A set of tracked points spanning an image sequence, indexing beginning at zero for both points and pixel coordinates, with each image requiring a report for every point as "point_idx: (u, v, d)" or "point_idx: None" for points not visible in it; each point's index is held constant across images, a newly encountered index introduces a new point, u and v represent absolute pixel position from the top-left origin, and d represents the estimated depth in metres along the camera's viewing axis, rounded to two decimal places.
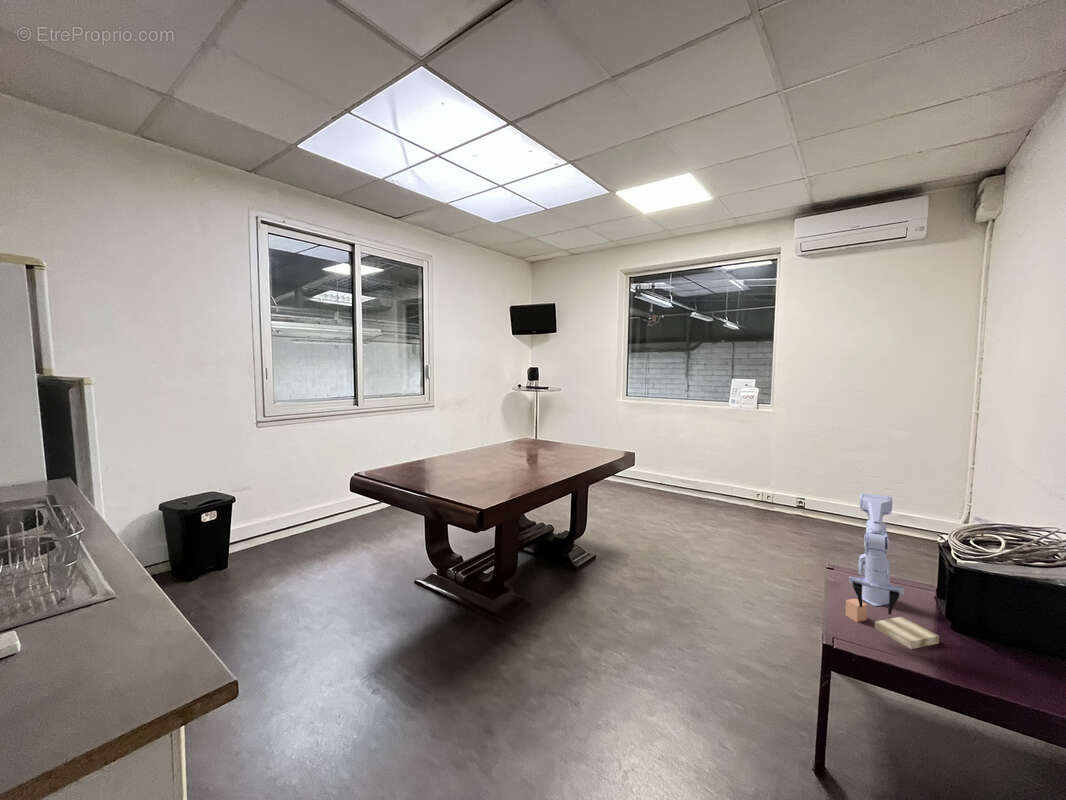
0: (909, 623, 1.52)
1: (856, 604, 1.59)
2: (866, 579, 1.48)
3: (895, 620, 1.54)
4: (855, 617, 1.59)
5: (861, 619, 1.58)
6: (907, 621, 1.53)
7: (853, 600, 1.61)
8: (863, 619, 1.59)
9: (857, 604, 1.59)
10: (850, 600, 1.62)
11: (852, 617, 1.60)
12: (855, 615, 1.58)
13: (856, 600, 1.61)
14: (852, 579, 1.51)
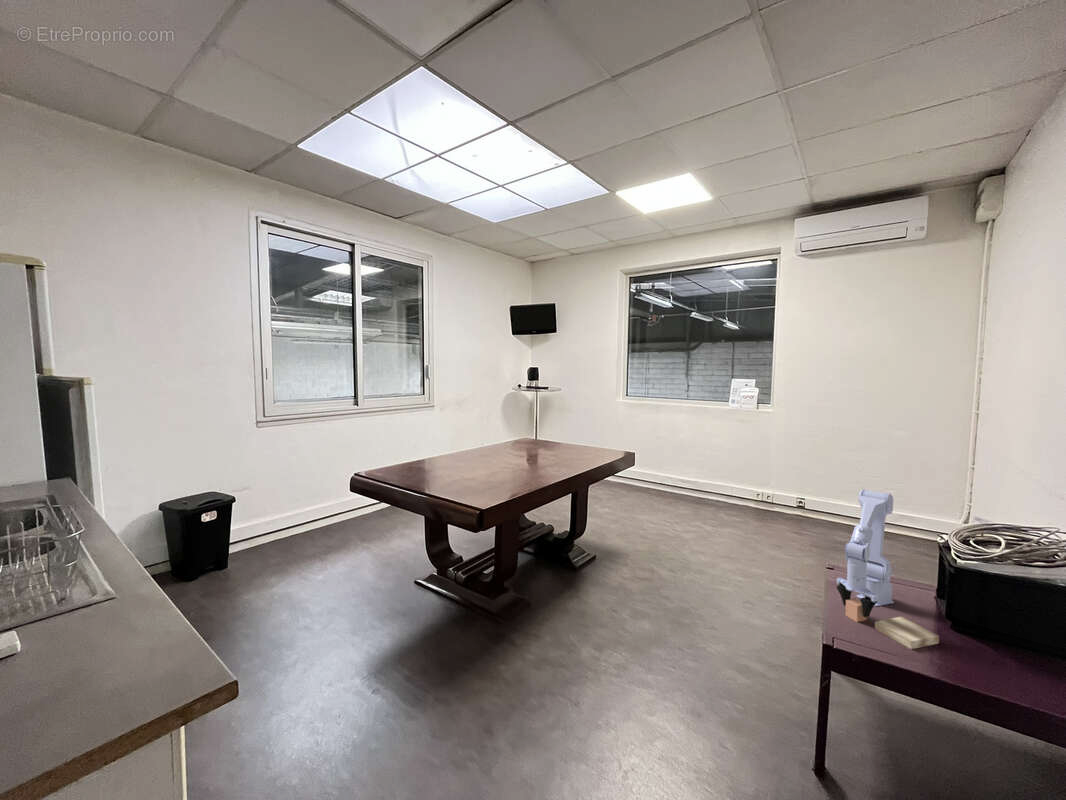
0: (909, 623, 1.52)
1: (856, 604, 1.59)
2: None
3: (895, 620, 1.54)
4: (855, 617, 1.59)
5: (861, 619, 1.58)
6: (907, 621, 1.53)
7: (853, 600, 1.61)
8: (863, 619, 1.59)
9: (857, 604, 1.59)
10: (850, 600, 1.62)
11: (852, 617, 1.60)
12: (855, 615, 1.58)
13: (856, 600, 1.61)
14: (838, 580, 1.66)
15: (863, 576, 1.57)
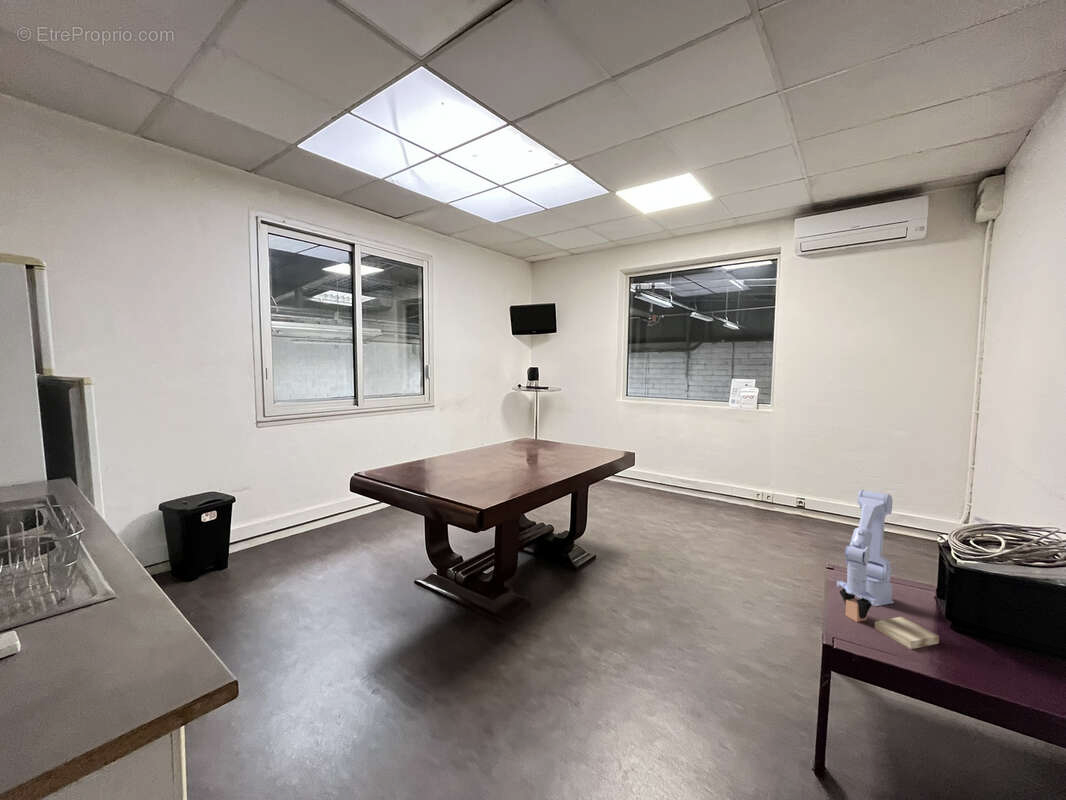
0: (909, 623, 1.52)
1: (856, 604, 1.59)
2: None
3: (895, 620, 1.54)
4: (855, 617, 1.59)
5: (861, 619, 1.58)
6: (907, 621, 1.53)
7: (853, 600, 1.61)
8: (863, 619, 1.59)
9: (857, 604, 1.59)
10: (850, 600, 1.61)
11: (852, 617, 1.60)
12: (855, 614, 1.58)
13: (856, 600, 1.61)
14: (838, 583, 1.66)
15: (863, 579, 1.57)
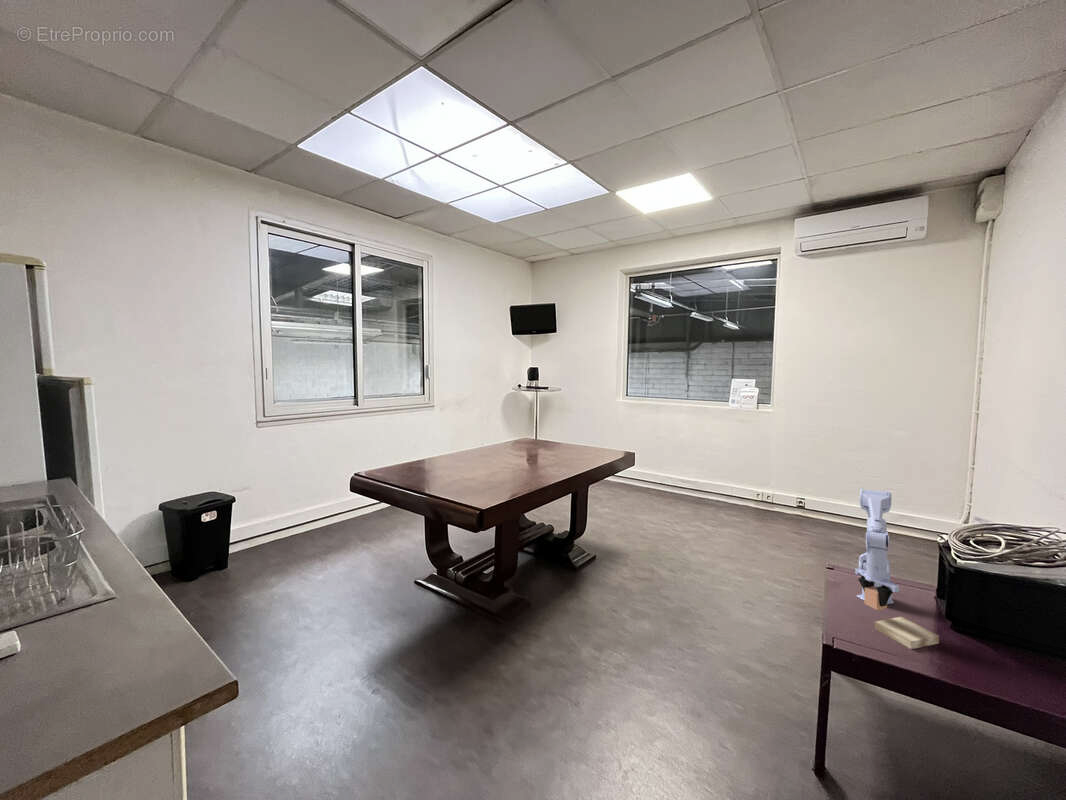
0: (909, 623, 1.52)
1: (876, 591, 1.54)
2: None
3: (895, 620, 1.54)
4: (874, 605, 1.53)
5: (881, 607, 1.53)
6: (907, 621, 1.53)
7: (872, 588, 1.56)
8: (883, 607, 1.53)
9: (877, 592, 1.54)
10: (869, 588, 1.56)
11: (871, 605, 1.55)
12: (875, 602, 1.53)
13: (875, 588, 1.56)
14: (857, 571, 1.61)
15: (885, 566, 1.52)
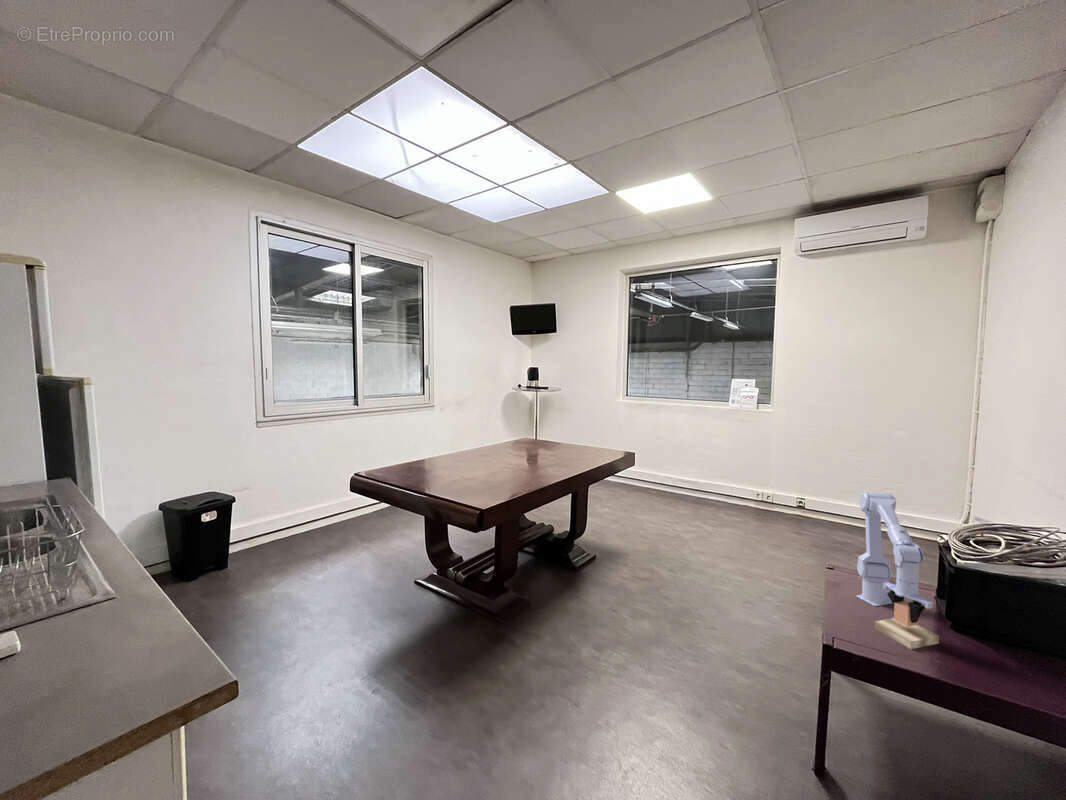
0: None
1: (906, 607, 1.47)
2: (896, 587, 1.50)
3: (895, 620, 1.54)
4: (905, 622, 1.47)
5: (912, 623, 1.47)
6: None
7: (902, 603, 1.49)
8: (914, 623, 1.47)
9: (908, 607, 1.47)
10: (899, 603, 1.50)
11: (902, 621, 1.48)
12: (906, 619, 1.47)
13: (906, 603, 1.50)
14: (885, 585, 1.54)
15: None
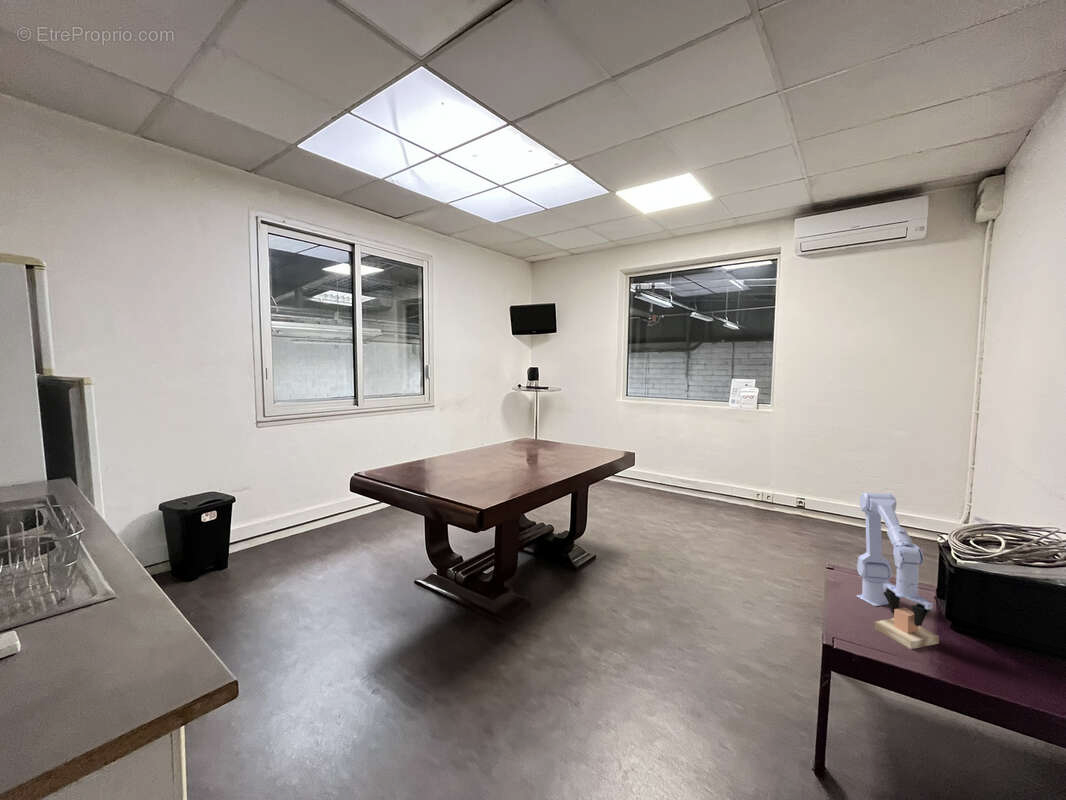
0: None
1: (906, 613, 1.47)
2: (896, 588, 1.50)
3: None
4: (905, 628, 1.47)
5: (912, 630, 1.47)
6: None
7: (902, 610, 1.50)
8: (914, 630, 1.47)
9: (907, 614, 1.47)
10: (899, 609, 1.50)
11: (902, 628, 1.48)
12: (905, 625, 1.47)
13: (906, 609, 1.50)
14: (885, 586, 1.54)
15: None
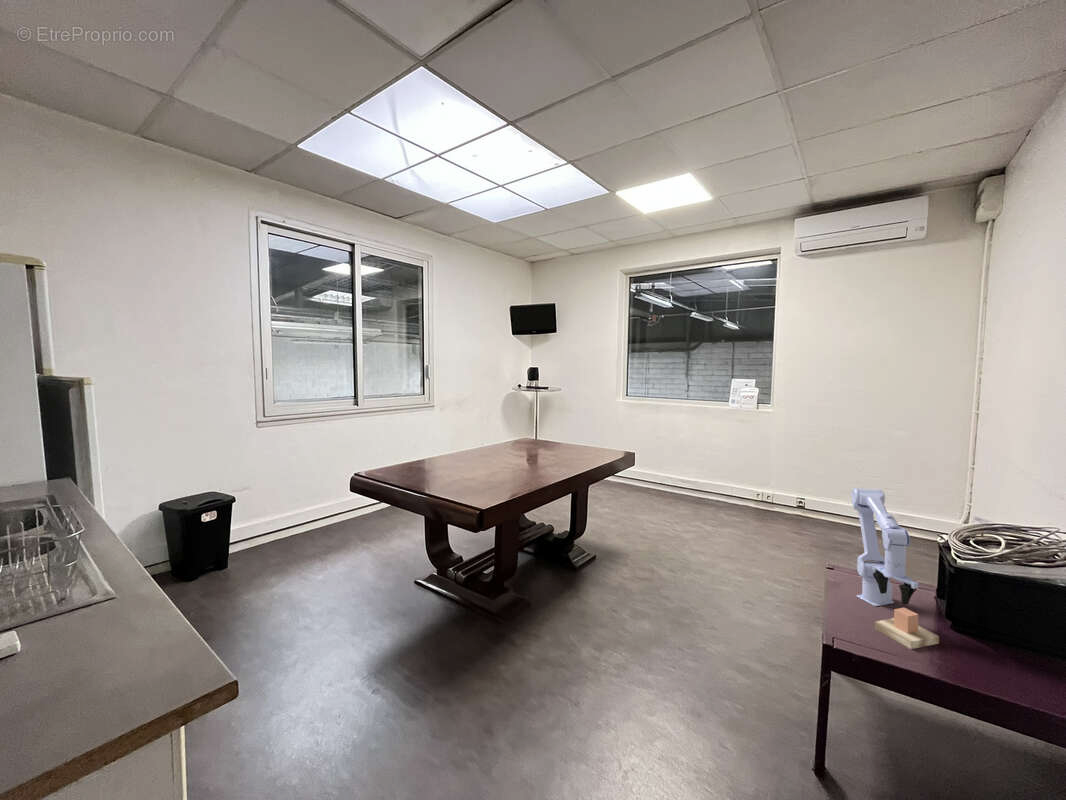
0: None
1: (906, 614, 1.47)
2: (884, 569, 1.57)
3: None
4: (905, 628, 1.47)
5: (912, 630, 1.47)
6: None
7: (902, 610, 1.50)
8: (914, 630, 1.47)
9: (907, 614, 1.47)
10: (899, 609, 1.50)
11: (902, 628, 1.48)
12: (905, 625, 1.47)
13: (905, 609, 1.50)
14: (874, 567, 1.61)
15: (905, 561, 1.53)
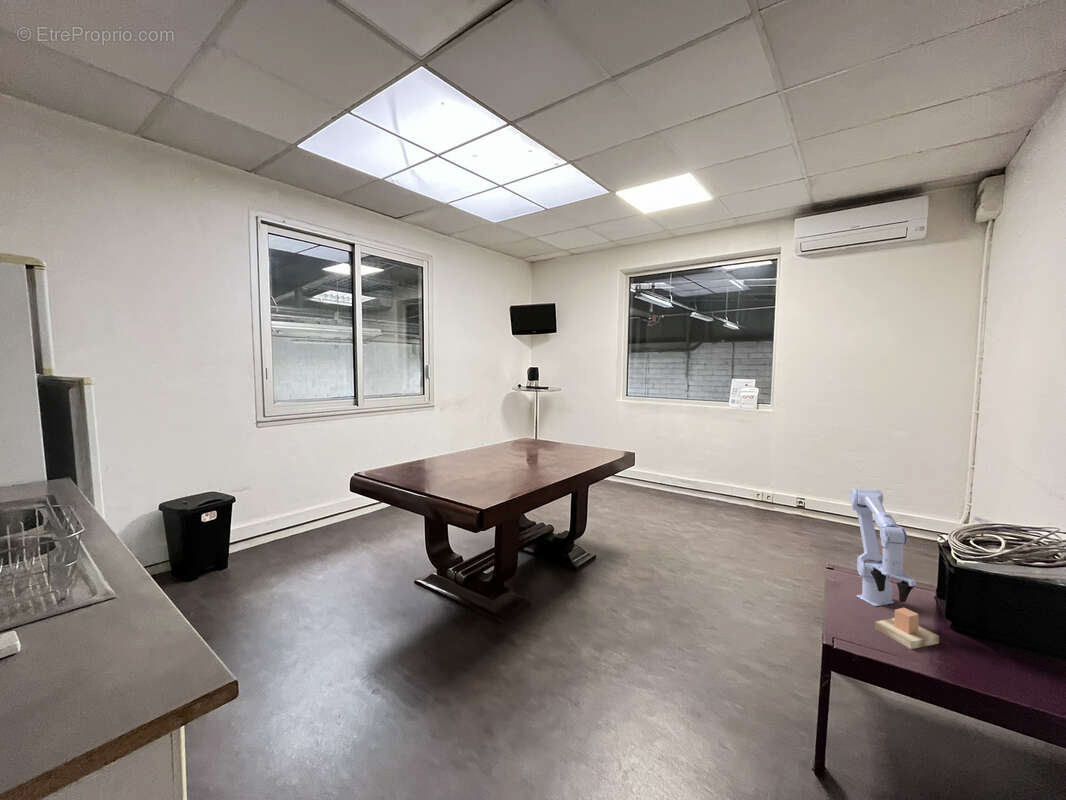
0: None
1: (907, 614, 1.47)
2: None
3: None
4: (906, 629, 1.47)
5: (913, 630, 1.47)
6: None
7: (902, 610, 1.49)
8: (915, 630, 1.47)
9: (908, 614, 1.47)
10: (899, 610, 1.50)
11: (903, 628, 1.48)
12: (906, 626, 1.47)
13: (905, 610, 1.50)
14: (872, 565, 1.63)
15: (902, 559, 1.54)
